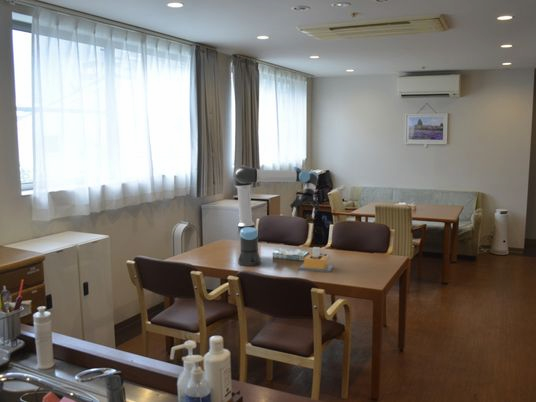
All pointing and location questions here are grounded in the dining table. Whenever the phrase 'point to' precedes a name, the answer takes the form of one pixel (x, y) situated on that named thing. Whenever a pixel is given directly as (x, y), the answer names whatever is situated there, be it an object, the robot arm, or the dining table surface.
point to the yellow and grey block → (316, 264)
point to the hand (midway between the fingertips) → (302, 216)
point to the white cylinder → (316, 252)
